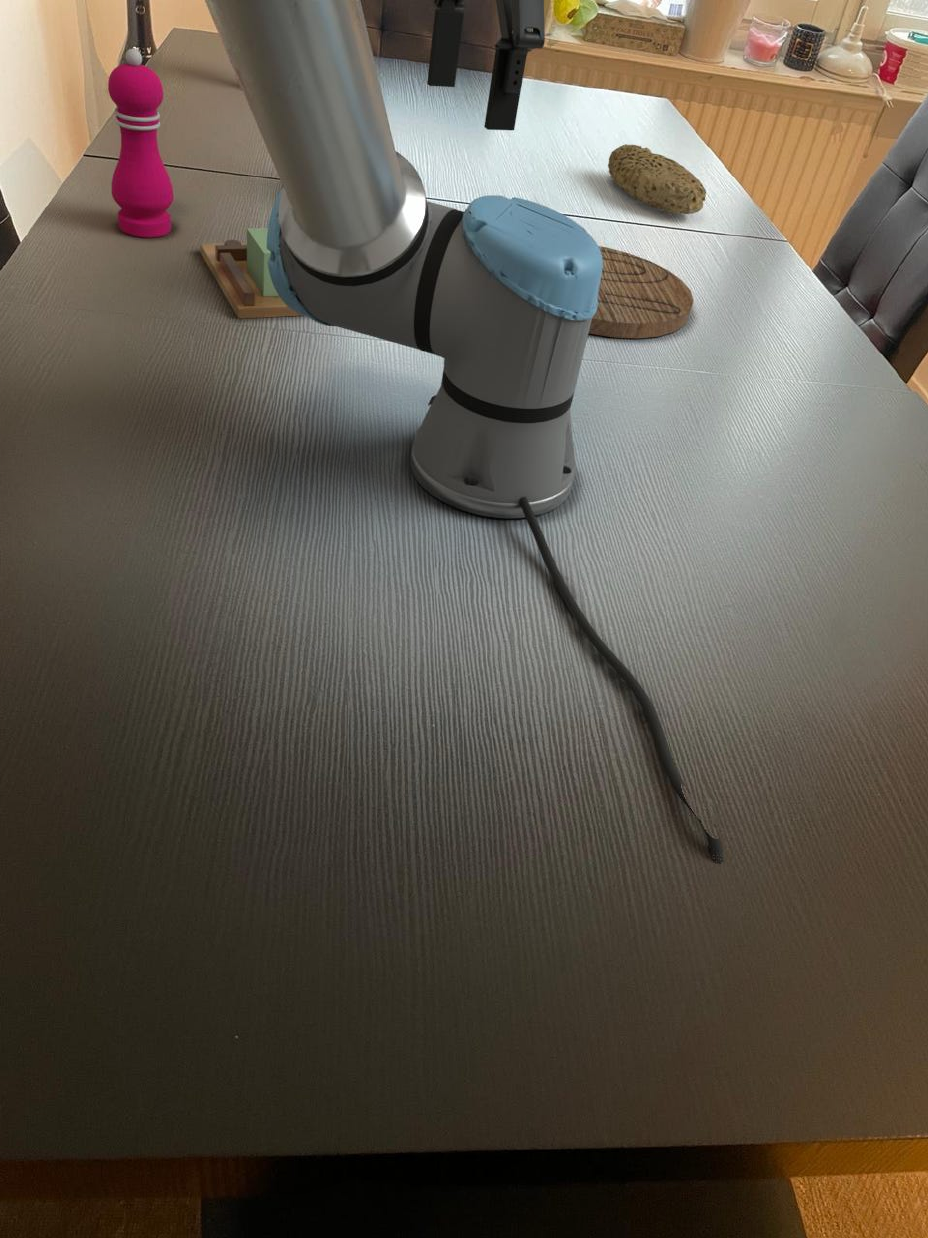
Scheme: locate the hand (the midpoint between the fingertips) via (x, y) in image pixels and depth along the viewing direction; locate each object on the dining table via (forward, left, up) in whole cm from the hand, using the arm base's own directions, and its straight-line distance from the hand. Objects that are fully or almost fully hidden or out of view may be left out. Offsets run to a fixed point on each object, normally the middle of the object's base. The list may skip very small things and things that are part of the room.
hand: (468, 106), depth 94 cm
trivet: (+25, -32, -24) cm, 47 cm away
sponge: (+43, -57, -21) cm, 75 cm away
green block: (+15, +13, -24) cm, 31 cm away
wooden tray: (+18, +13, -25) cm, 33 cm away
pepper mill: (+35, +25, -25) cm, 50 cm away
